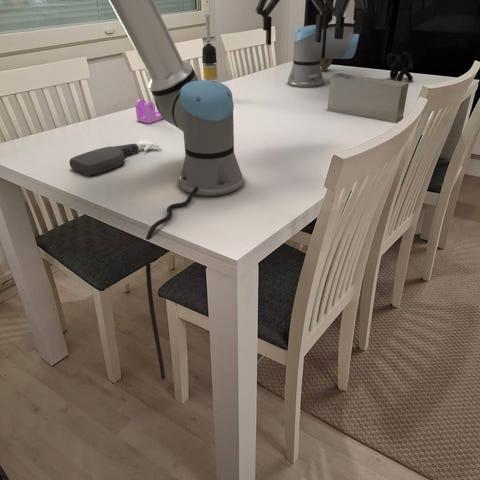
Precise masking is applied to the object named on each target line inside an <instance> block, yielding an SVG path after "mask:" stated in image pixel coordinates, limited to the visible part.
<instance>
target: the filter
mask: <svg viewBox="0 0 480 480" xmlns="http://www.w3.org/2000/svg"><path fill="white" fill-rule="evenodd" d="M210 17H211V14H204V18H205V27H206V29H205V30H206V31H205V33H206V39H207V40H206V42H207V43H206V45H204V46H202V49H201V50H202V51H201V52H202V54H201V55H202V57H201V58H202V61H201V63H202V71H203V72H202V73H203V74H202V75H203V80H208V81H212V82H216V80H218V64H216V63H218V61H217V48H216V47H215V46H214V45H212V43H210V42H211V40H210V39H211V31H210V29H211V28H210Z"/></svg>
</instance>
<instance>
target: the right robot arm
mask: <svg viewBox="0 0 480 480" xmlns="http://www.w3.org/2000/svg"><path fill="white" fill-rule="evenodd" d="M332 4H333V7H334V10H333V11H332V16H331V17H332V18H331V20H330V21H329V22H328V23H327V28H322V34H321V42H320V43H318V42H316V41H315V32H316V24H310V25H305V26H301V27H298V28H296V29H295V32H294V36H293V37H294V38H293V43H294V44H293V57H292V67H291V70H290V74H289V76H288V79H287V81H288V82H287V84H288V85H290V86H292V87H297V88H314V87H320V86H322V85H323V84H324V77H323V73H322V71H321V67H320V59H332V60H335V59H336V60H347V59H352V58H353V57H354V56H355V53H356V50H357V47H358V43H359V38H360V35H362V30H363V21H364V13H367V12H368V0H333V1H332ZM355 10H356V12H355Z"/></svg>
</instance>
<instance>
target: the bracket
mask: <svg viewBox="0 0 480 480" xmlns="http://www.w3.org/2000/svg"><path fill="white" fill-rule="evenodd" d="M134 105H135V113H136V120H137V122H141V123H144V124H152V123H155V122H157V121H160V120H164V118H163V117H162V116H161V115H160V113H159V112H158V110H157V109H156V106H155V102H153V101H150V100H147V101H146V100H145V99H141V98H138V99H137V100H136V101H135V104H134Z"/></svg>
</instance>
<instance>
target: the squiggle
mask: <svg viewBox="0 0 480 480" xmlns="http://www.w3.org/2000/svg"><path fill="white" fill-rule="evenodd" d="M401 57H402V59H401ZM391 59H392V60H391ZM393 60H394V61H393ZM385 61H386V64H387V67H390V68H391V70H390V72H389V78H390V80H395V79H396V81H402V82H403V79H404V76H406V78H407V80H408V81H412V80H413V79H414V77H413V75H412V74H411V73H410V72H409V71H410V70H412V69H413V68H414V64H413V61H412V57H411V54H410V53H409V52H408V51H403V53H402V54H401V55H396V54H394V53H392V52H390V53H387V55H386V57H385ZM406 62H407V65H408V66H407V67H405V66H404V65H405V64H406ZM400 70H401V71H400Z"/></svg>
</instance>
